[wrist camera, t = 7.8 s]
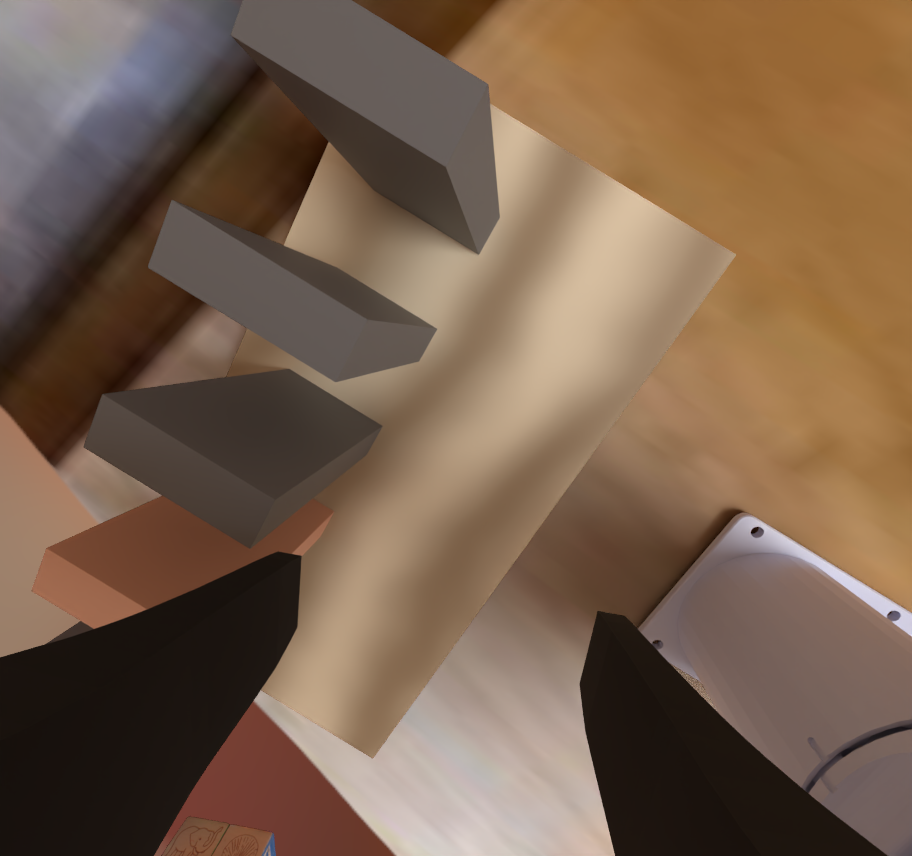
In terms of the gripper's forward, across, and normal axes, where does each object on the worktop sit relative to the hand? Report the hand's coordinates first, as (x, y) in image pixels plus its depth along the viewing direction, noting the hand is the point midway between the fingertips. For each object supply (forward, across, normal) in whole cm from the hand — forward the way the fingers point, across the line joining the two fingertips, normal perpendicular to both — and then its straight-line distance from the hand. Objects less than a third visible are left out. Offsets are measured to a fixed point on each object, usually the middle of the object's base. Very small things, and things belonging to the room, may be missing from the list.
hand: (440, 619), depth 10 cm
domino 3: (+10, +7, -2) cm, 12 cm away
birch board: (+10, +4, 0) cm, 11 cm away
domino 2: (+10, +5, -7) cm, 13 cm away
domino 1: (+10, +3, -11) cm, 15 cm away
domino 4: (+10, +9, +2) cm, 13 cm away
